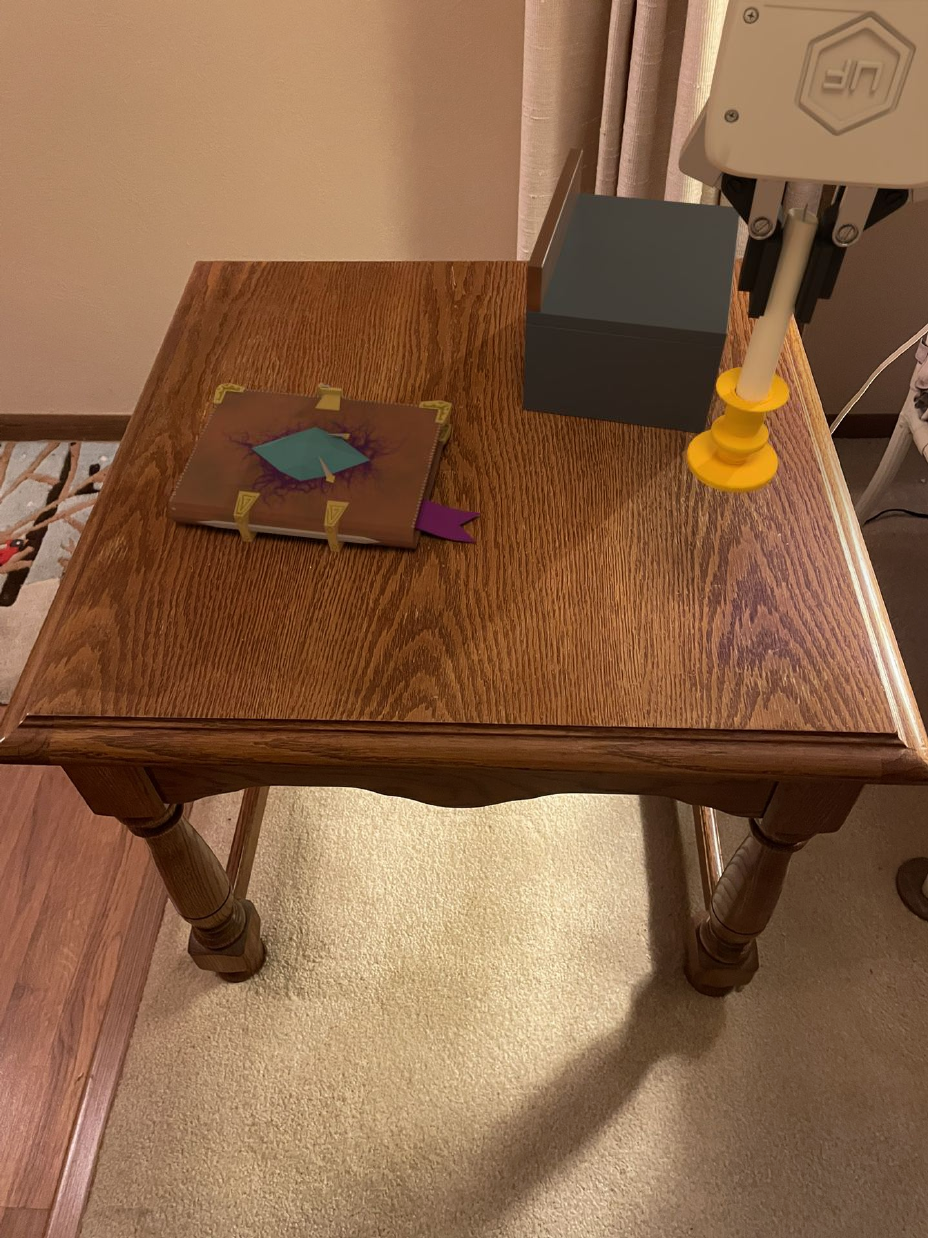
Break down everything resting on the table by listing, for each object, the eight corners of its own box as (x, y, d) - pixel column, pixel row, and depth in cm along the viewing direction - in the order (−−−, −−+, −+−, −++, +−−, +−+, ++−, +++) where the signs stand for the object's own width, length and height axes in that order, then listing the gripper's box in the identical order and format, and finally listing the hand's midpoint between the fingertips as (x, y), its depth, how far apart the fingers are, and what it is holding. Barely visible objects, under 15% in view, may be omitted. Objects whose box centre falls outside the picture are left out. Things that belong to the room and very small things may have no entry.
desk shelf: (719, 304, 89) (750, 162, 78) (703, 433, 77) (738, 287, 66) (561, 287, 91) (570, 147, 80) (522, 409, 80) (527, 265, 69)
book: (472, 573, 69) (470, 531, 65) (172, 539, 72) (152, 497, 68) (502, 428, 78) (502, 383, 74) (236, 403, 81) (221, 359, 77)
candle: (763, 431, 54) (846, 172, 42) (786, 491, 51) (884, 230, 38) (677, 435, 54) (735, 177, 41) (695, 496, 51) (764, 235, 38)
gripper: (667, -165, 28) (611, 332, 43) (1209, -158, 26) (954, 369, 40) (685, -215, 33) (628, 251, 47) (1148, -213, 30) (939, 279, 45)
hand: (779, 303), depth 44 cm, fingers closed on candle, 1 cm apart
